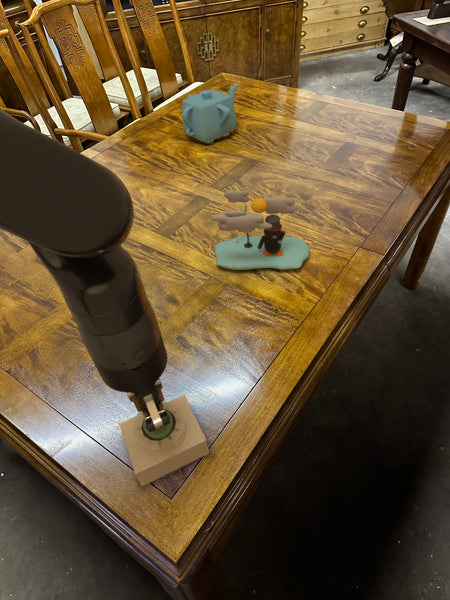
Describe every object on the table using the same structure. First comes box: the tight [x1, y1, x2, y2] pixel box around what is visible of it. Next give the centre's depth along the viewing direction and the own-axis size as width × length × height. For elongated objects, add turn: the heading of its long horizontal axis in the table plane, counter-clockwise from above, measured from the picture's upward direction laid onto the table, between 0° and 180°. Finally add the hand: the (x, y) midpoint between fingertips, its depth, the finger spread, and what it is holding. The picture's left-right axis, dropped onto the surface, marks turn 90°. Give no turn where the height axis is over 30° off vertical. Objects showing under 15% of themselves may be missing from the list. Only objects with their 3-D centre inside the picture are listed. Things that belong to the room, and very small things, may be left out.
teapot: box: [181, 83, 240, 145], centre depth 129 cm, size 18×16×14 cm
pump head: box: [143, 410, 175, 441], centre depth 56 cm, size 4×4×2 cm
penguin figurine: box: [210, 190, 311, 271], centre depth 83 cm, size 20×11×15 cm, turn 81°
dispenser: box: [118, 394, 210, 487], centre depth 58 cm, size 10×8×6 cm
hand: (157, 421), depth 56 cm, fingers closed
